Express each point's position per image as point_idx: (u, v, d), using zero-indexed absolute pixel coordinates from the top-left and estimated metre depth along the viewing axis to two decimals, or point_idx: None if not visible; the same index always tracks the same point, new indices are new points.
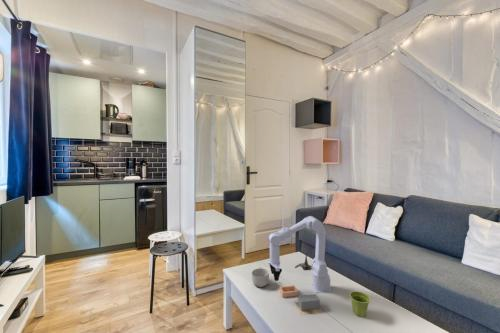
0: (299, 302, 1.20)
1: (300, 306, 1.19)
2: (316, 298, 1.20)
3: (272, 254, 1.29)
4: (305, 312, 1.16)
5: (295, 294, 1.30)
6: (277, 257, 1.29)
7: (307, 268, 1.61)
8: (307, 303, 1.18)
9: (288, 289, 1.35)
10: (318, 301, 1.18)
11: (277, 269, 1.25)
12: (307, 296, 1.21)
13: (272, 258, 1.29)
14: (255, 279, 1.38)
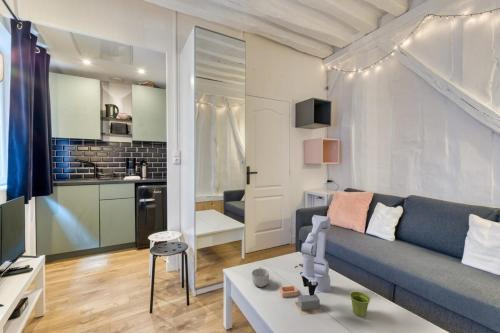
0: (299, 302, 1.20)
1: (300, 306, 1.19)
2: (316, 298, 1.20)
3: (311, 266, 1.16)
4: (305, 312, 1.16)
5: (295, 294, 1.30)
6: (312, 269, 1.17)
7: None
8: (307, 303, 1.18)
9: (288, 289, 1.35)
10: (318, 301, 1.18)
11: (313, 283, 1.12)
12: (307, 296, 1.21)
13: (306, 270, 1.17)
14: (255, 279, 1.38)
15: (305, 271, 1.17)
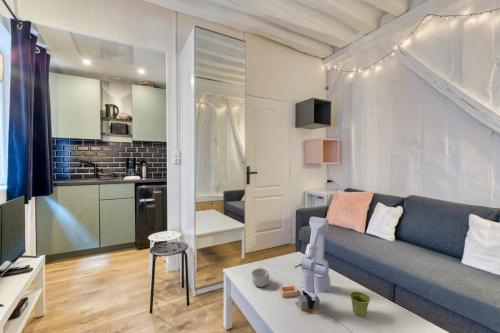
0: (299, 302, 1.20)
1: (300, 306, 1.19)
2: None
3: (311, 281, 1.17)
4: (305, 312, 1.16)
5: (295, 294, 1.30)
6: (312, 284, 1.17)
7: None
8: (307, 303, 1.18)
9: (288, 289, 1.35)
10: (318, 301, 1.18)
11: (313, 298, 1.13)
12: None
13: (307, 285, 1.17)
14: (255, 279, 1.38)
15: (305, 286, 1.18)
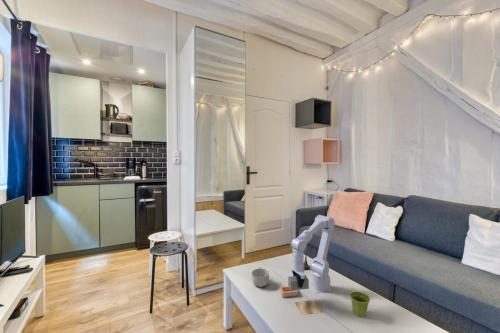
0: (289, 282, 1.25)
1: (290, 286, 1.24)
2: None
3: (299, 261, 1.22)
4: (305, 312, 1.16)
5: (295, 294, 1.30)
6: (301, 264, 1.23)
7: (307, 268, 1.61)
8: (296, 283, 1.23)
9: (288, 289, 1.35)
10: (307, 281, 1.24)
11: (302, 276, 1.18)
12: None
13: (296, 265, 1.23)
14: (255, 279, 1.38)
15: (295, 266, 1.23)
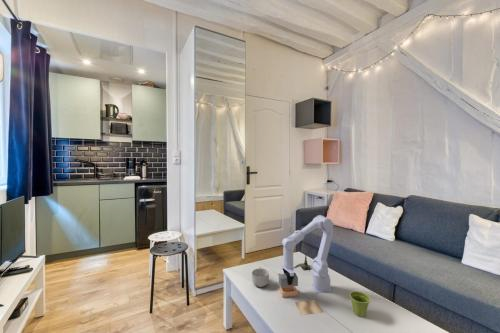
0: (279, 279, 1.32)
1: (280, 283, 1.30)
2: (295, 276, 1.31)
3: (286, 259, 1.29)
4: (305, 312, 1.16)
5: (295, 294, 1.30)
6: (291, 262, 1.29)
7: (307, 268, 1.61)
8: (286, 280, 1.29)
9: (288, 289, 1.35)
10: (296, 278, 1.30)
11: (291, 274, 1.24)
12: None
13: (286, 263, 1.29)
14: (255, 279, 1.38)
15: (285, 264, 1.29)
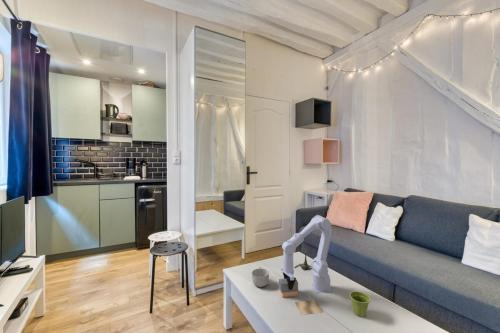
0: (279, 284, 1.32)
1: (280, 288, 1.30)
2: (295, 281, 1.31)
3: (286, 263, 1.29)
4: (305, 312, 1.16)
5: (295, 294, 1.30)
6: (291, 266, 1.29)
7: (307, 268, 1.61)
8: (286, 285, 1.29)
9: None
10: (296, 283, 1.30)
11: (292, 278, 1.24)
12: None
13: (286, 267, 1.29)
14: (255, 279, 1.38)
15: (285, 268, 1.30)
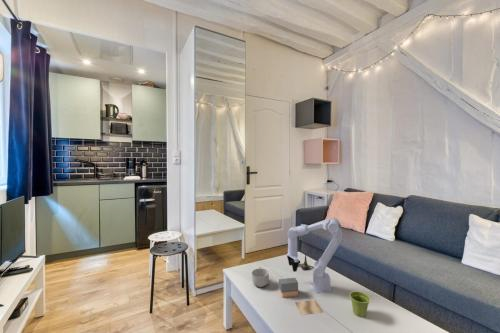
0: (279, 284, 1.32)
1: (280, 288, 1.30)
2: (295, 281, 1.31)
3: (289, 246, 1.40)
4: (305, 312, 1.16)
5: (295, 294, 1.30)
6: (295, 249, 1.39)
7: (306, 268, 1.61)
8: (286, 285, 1.29)
9: None
10: (296, 283, 1.30)
11: (296, 260, 1.35)
12: (287, 279, 1.33)
13: (291, 250, 1.39)
14: (255, 279, 1.38)
15: (289, 251, 1.40)
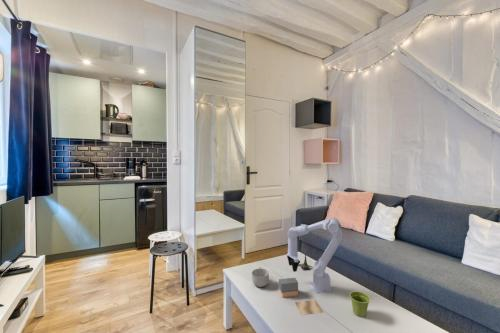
0: (279, 284, 1.32)
1: (280, 288, 1.30)
2: (295, 281, 1.31)
3: (289, 246, 1.40)
4: (305, 312, 1.16)
5: (295, 294, 1.30)
6: (295, 249, 1.39)
7: (306, 268, 1.61)
8: (286, 285, 1.29)
9: None
10: (296, 283, 1.30)
11: (296, 260, 1.35)
12: (287, 279, 1.33)
13: (291, 250, 1.39)
14: (255, 279, 1.38)
15: (289, 251, 1.40)
